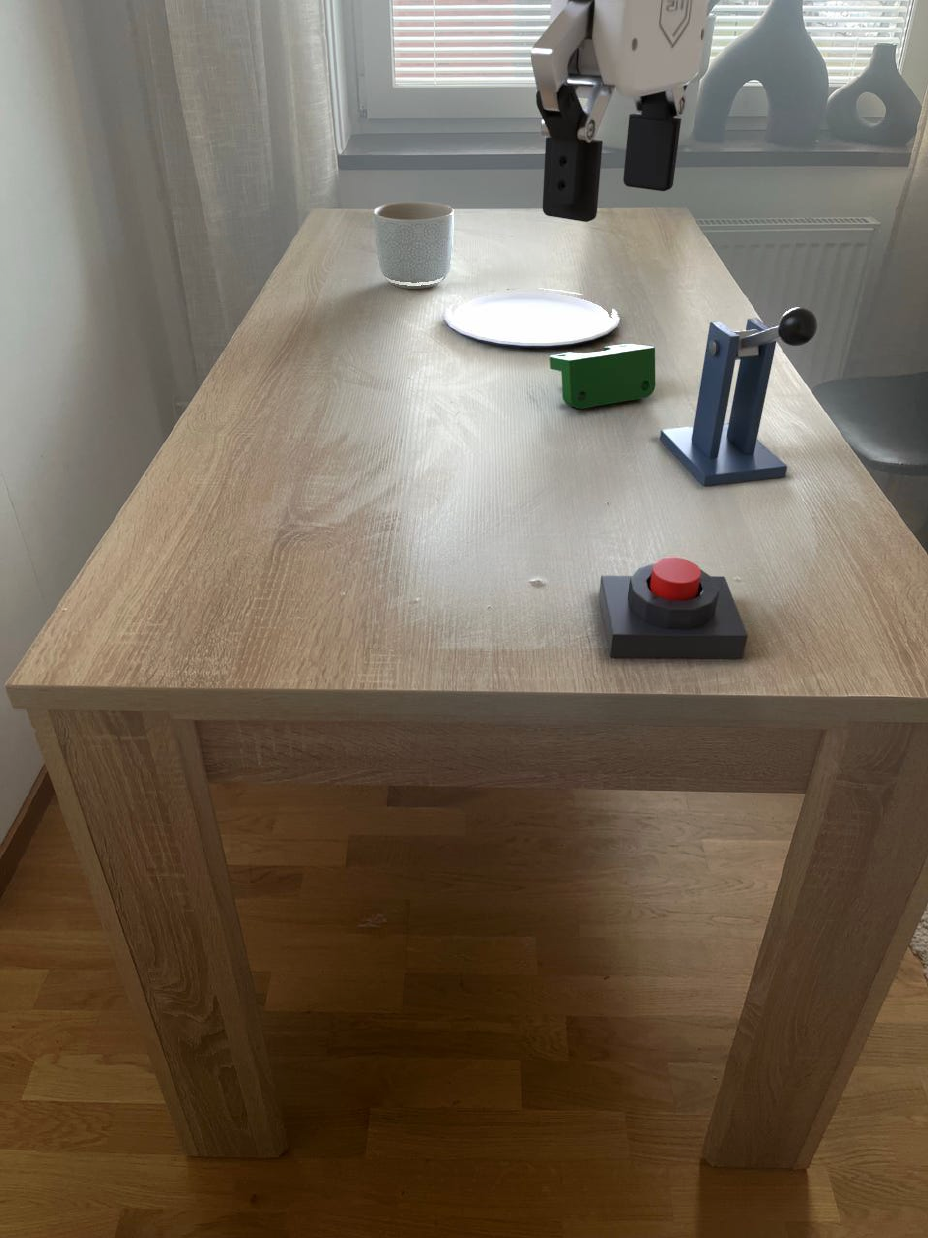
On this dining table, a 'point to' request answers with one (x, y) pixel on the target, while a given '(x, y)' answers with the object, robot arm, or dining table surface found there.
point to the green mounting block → (606, 375)
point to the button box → (670, 619)
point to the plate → (531, 319)
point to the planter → (414, 241)
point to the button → (675, 579)
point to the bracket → (733, 445)
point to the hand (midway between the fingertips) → (610, 201)
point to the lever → (779, 333)
